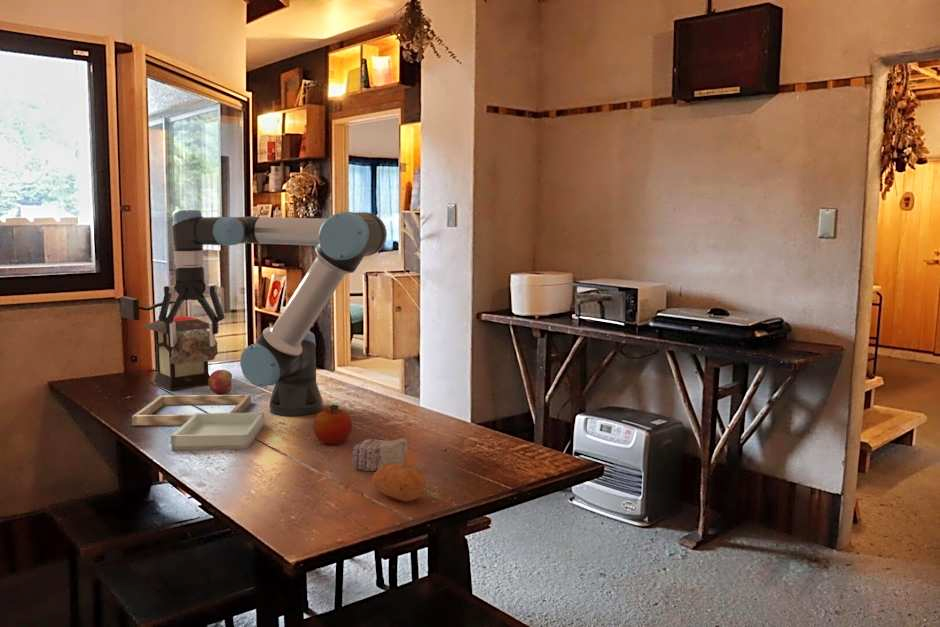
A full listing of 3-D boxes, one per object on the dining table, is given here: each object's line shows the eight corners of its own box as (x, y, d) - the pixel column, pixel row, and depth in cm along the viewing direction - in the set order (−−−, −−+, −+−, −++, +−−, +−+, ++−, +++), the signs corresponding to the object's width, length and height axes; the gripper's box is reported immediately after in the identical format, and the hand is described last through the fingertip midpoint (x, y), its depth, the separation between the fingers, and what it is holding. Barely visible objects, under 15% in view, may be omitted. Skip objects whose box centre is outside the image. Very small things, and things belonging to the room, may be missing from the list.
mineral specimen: (400, 458, 184) (400, 432, 183) (410, 467, 177) (410, 440, 176) (347, 464, 179) (347, 438, 178) (355, 474, 172) (355, 447, 172)
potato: (402, 511, 151) (402, 476, 150) (365, 493, 161) (365, 459, 160) (432, 502, 156) (432, 468, 155) (394, 485, 166) (394, 452, 165)
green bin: (264, 425, 211) (264, 412, 210) (247, 449, 190) (247, 434, 190) (196, 426, 210) (195, 413, 209) (171, 450, 189) (170, 436, 188)
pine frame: (250, 402, 235) (250, 394, 235) (232, 423, 212) (232, 414, 212) (160, 403, 233) (160, 395, 233) (132, 425, 210) (131, 416, 210)
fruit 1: (227, 398, 240) (226, 373, 239) (203, 397, 241) (202, 372, 240) (238, 392, 248) (237, 367, 247) (215, 391, 249) (214, 367, 248)
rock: (165, 363, 220) (174, 369, 212) (161, 333, 219) (169, 338, 210) (217, 354, 228) (227, 358, 220) (213, 324, 226) (223, 328, 218)
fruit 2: (347, 435, 202) (347, 397, 201) (356, 445, 193) (355, 406, 192) (310, 439, 198) (309, 400, 197) (317, 449, 190) (316, 409, 188)
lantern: (121, 387, 254) (115, 295, 250) (198, 376, 272) (194, 290, 268) (141, 397, 241) (136, 300, 237) (222, 385, 258) (218, 294, 254)
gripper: (234, 265, 221) (237, 343, 224) (152, 265, 220) (156, 344, 222) (227, 267, 213) (230, 347, 216) (142, 267, 212) (147, 348, 215)
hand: (193, 345), depth 219 cm, fingers closed on rock, 10 cm apart
